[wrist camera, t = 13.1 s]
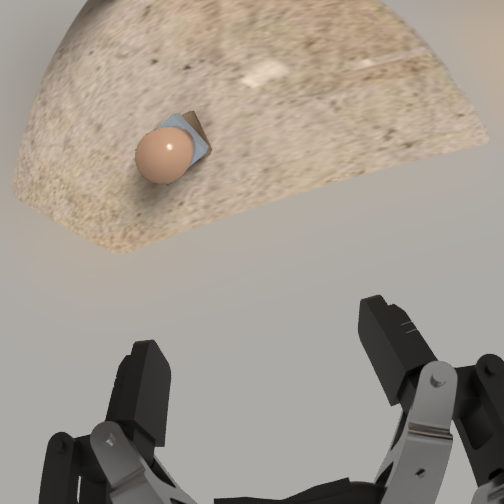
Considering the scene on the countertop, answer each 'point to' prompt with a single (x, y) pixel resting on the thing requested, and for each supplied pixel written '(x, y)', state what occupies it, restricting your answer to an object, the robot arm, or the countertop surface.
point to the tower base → (197, 129)
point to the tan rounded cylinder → (165, 154)
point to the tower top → (181, 122)
